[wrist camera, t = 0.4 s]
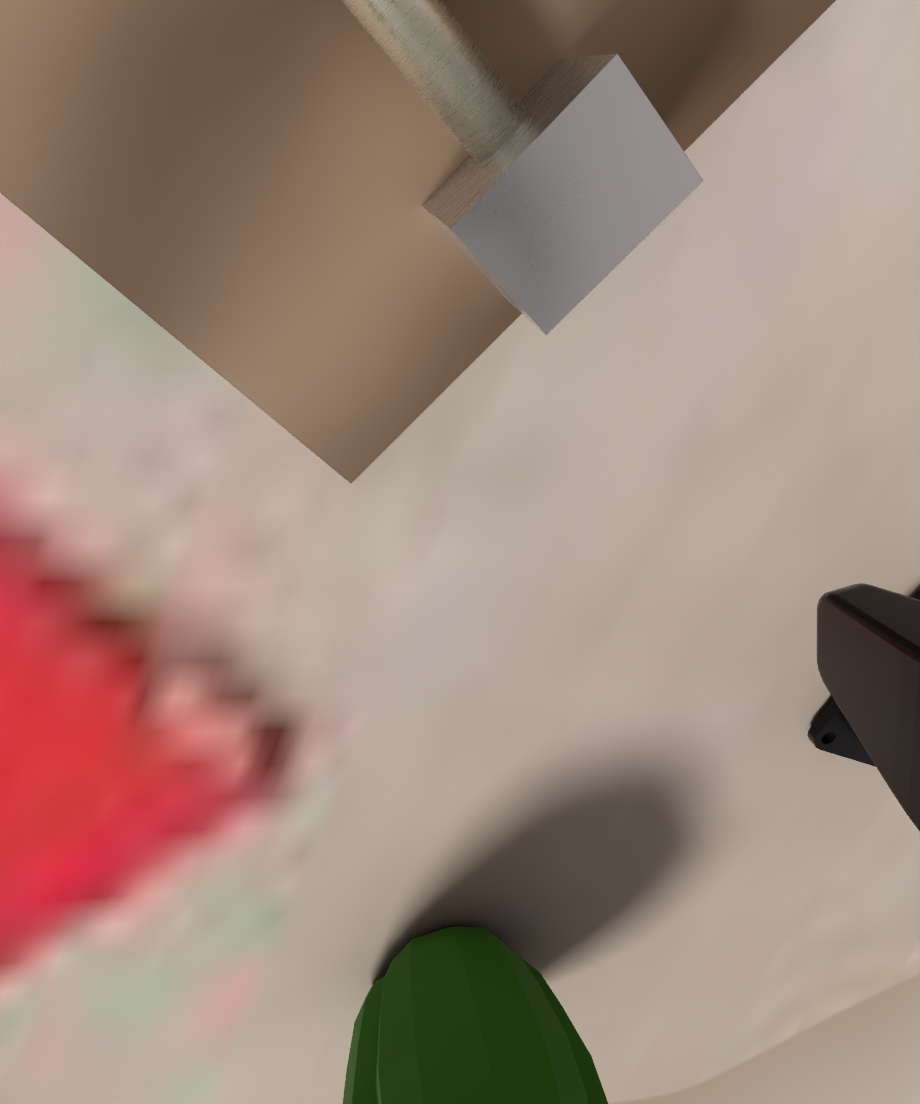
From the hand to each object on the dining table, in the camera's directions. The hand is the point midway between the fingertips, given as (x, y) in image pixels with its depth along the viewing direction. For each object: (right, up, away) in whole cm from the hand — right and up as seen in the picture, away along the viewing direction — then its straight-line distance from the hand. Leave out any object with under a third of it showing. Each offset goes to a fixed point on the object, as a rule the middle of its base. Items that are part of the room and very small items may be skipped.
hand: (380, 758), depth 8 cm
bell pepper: (0, -13, +23) cm, 26 cm away
